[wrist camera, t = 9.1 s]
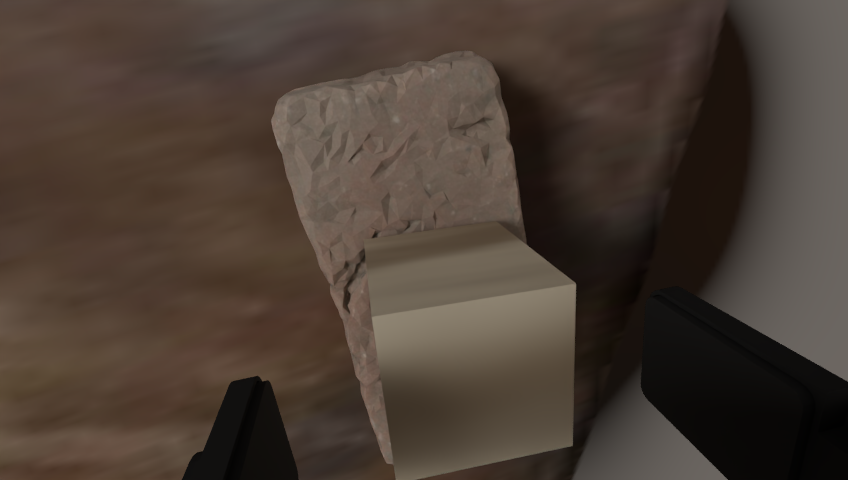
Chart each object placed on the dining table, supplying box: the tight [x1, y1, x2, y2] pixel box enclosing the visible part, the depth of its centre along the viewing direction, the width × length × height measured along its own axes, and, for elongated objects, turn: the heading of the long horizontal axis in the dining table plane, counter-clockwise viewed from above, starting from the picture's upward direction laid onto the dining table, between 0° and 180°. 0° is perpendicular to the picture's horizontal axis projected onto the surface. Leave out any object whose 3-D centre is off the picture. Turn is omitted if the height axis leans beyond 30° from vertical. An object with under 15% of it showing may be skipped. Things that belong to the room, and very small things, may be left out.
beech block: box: [364, 221, 576, 480], centre depth 14 cm, size 5×5×6 cm
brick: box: [271, 51, 527, 464], centre depth 18 cm, size 17×8×5 cm, turn 13°
